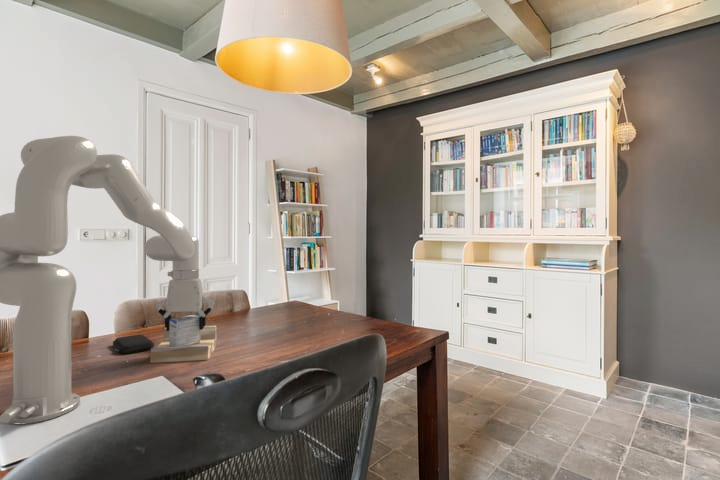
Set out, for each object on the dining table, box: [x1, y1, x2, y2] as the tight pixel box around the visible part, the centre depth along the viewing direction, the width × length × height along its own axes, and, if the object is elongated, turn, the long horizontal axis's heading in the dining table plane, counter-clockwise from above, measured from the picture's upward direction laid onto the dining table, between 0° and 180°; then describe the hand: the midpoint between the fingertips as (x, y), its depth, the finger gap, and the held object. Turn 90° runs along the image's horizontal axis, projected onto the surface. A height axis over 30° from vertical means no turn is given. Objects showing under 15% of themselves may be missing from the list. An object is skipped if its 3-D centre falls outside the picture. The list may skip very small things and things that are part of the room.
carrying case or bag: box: [112, 333, 156, 355], centre depth 124 cm, size 11×3×15 cm
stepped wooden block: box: [149, 325, 217, 364], centre depth 119 cm, size 14×16×7 cm
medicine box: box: [169, 314, 200, 347], centre depth 118 cm, size 8×4×9 cm, turn 145°
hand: (185, 329), depth 118 cm, fingers open, 9 cm apart
